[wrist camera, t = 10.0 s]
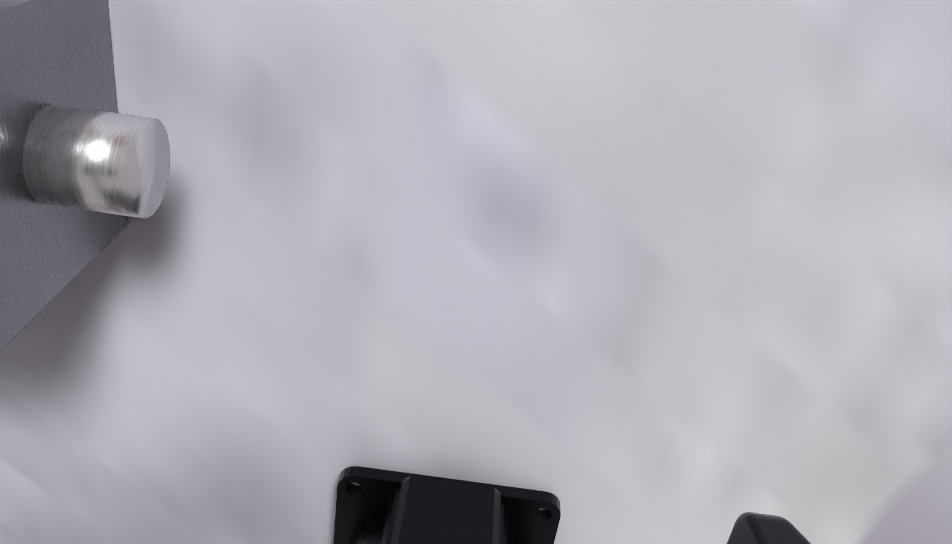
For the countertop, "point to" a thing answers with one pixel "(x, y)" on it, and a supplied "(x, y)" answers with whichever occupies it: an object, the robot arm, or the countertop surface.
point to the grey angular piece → (65, 152)
